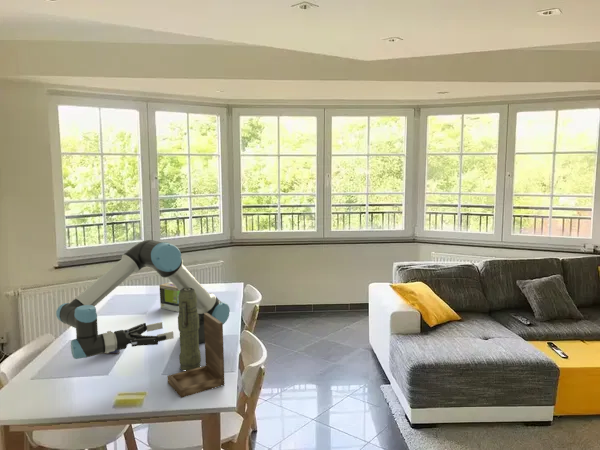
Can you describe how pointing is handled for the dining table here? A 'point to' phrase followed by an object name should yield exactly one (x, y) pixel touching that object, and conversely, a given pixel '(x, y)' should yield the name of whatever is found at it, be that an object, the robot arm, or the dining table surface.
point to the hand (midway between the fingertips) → (167, 329)
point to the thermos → (188, 330)
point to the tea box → (169, 296)
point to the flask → (113, 351)
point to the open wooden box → (214, 368)
